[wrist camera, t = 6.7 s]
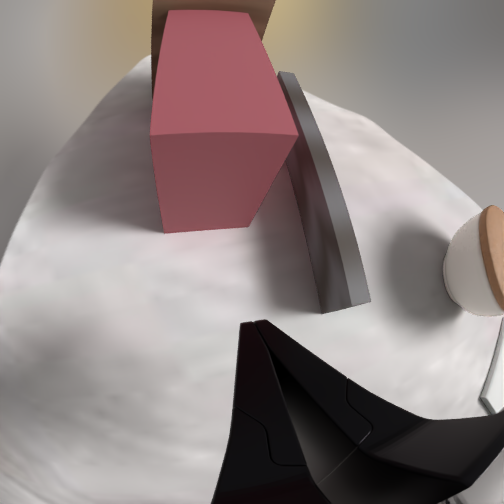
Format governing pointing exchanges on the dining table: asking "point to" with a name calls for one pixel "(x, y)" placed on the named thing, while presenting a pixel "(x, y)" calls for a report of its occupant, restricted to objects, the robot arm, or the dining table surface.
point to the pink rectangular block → (215, 122)
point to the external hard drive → (495, 379)
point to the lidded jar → (477, 264)
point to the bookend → (298, 171)
